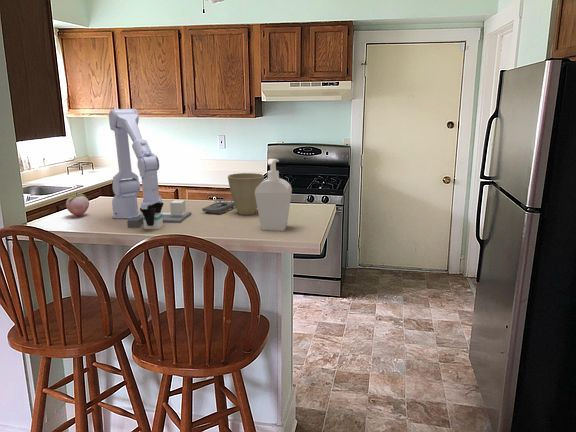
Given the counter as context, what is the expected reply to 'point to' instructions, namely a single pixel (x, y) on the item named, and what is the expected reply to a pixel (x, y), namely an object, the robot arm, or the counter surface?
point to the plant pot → (244, 191)
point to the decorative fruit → (77, 204)
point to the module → (157, 222)
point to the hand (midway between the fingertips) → (153, 223)
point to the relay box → (135, 222)
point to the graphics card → (220, 206)
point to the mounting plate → (178, 220)
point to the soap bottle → (273, 200)
